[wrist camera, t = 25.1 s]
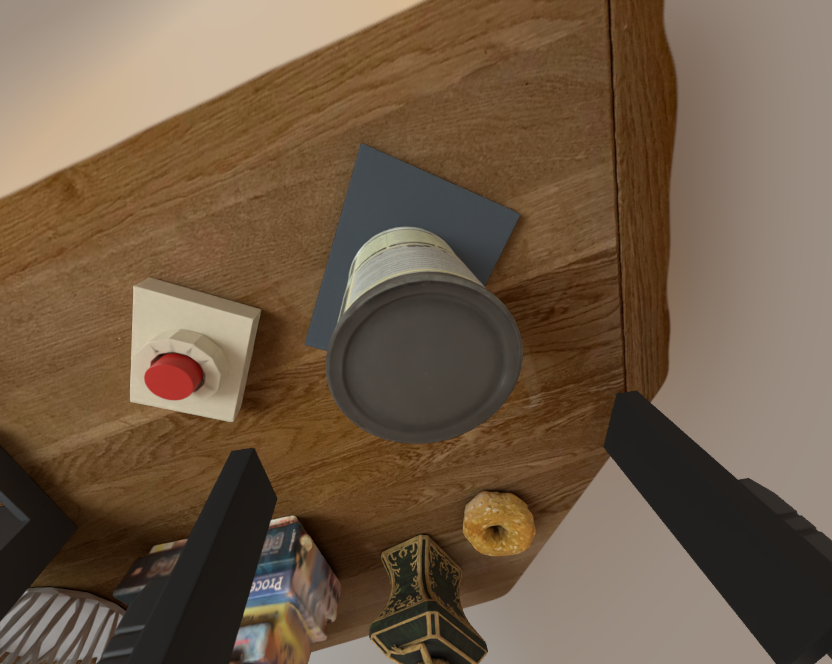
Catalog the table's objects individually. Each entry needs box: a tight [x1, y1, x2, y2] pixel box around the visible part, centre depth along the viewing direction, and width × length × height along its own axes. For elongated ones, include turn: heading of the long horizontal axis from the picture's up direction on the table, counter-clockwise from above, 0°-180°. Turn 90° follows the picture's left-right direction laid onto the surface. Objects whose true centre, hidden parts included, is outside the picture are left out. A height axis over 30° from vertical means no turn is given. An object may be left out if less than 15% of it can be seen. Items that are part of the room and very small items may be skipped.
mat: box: [305, 143, 521, 351], centre depth 30 cm, size 18×14×1 cm
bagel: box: [463, 491, 536, 556], centre depth 45 cm, size 10×11×5 cm
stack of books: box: [99, 516, 341, 664], centre depth 39 cm, size 23×18×17 cm
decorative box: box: [369, 535, 488, 664], centre depth 43 cm, size 20×10×20 cm, turn 30°
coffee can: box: [326, 227, 523, 444], centre depth 23 cm, size 10×10×14 cm
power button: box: [144, 353, 203, 400], centre depth 27 cm, size 4×4×2 cm
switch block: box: [130, 278, 261, 422], centre depth 29 cm, size 12×9×4 cm
